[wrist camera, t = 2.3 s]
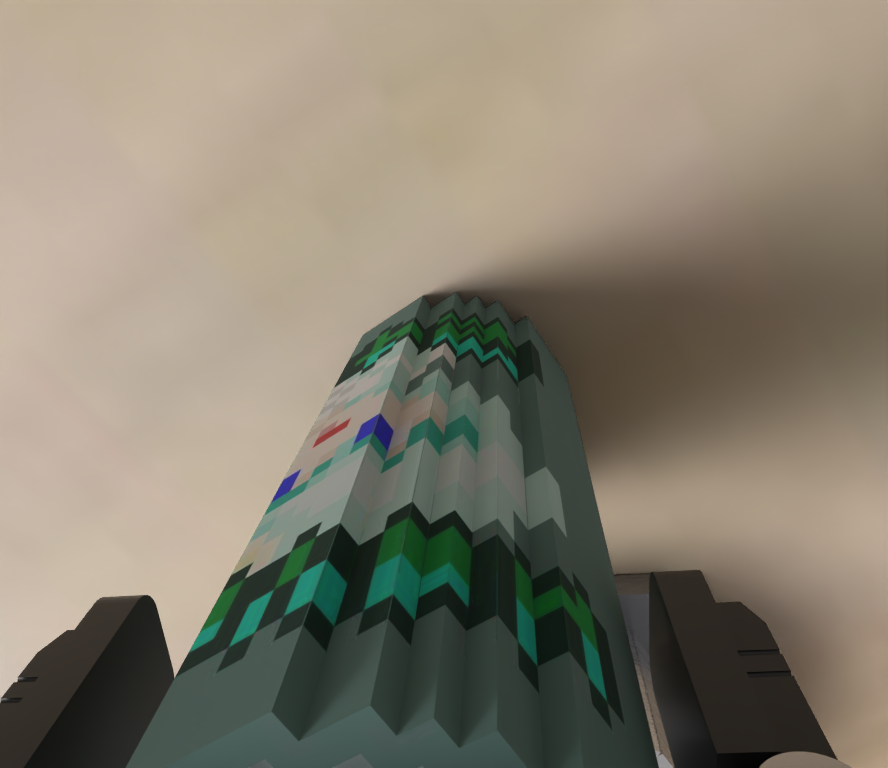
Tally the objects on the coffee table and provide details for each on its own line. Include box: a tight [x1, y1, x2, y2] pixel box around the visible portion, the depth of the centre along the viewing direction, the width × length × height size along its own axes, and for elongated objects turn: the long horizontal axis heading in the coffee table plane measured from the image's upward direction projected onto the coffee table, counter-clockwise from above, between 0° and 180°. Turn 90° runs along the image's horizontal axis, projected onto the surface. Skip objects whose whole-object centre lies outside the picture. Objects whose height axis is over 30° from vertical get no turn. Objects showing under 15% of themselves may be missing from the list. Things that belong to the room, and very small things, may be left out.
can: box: [126, 292, 659, 768], centre depth 15 cm, size 6×6×15 cm
